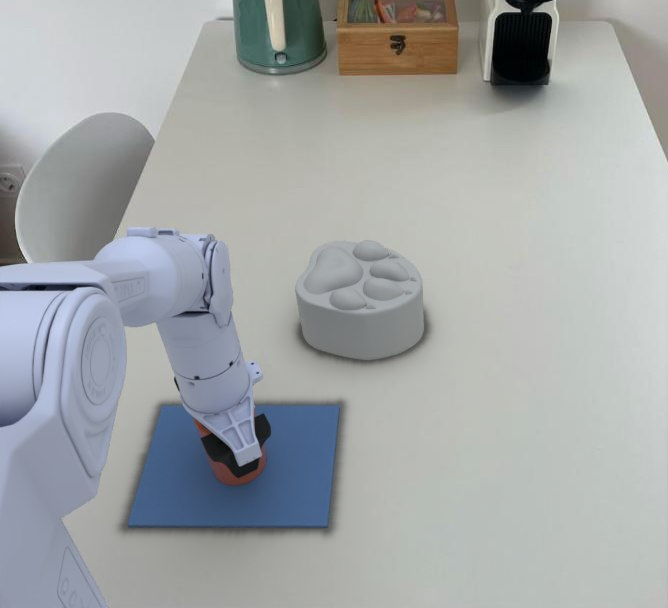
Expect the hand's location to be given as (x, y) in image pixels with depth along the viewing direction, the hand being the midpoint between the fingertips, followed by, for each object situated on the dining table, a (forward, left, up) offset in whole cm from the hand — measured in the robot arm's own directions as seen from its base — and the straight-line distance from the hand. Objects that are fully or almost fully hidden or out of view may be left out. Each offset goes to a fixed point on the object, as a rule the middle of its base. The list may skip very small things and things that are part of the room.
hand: (234, 446), depth 75 cm
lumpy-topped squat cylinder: (+21, -1, -3) cm, 21 cm away
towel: (0, 0, -3) cm, 3 cm away
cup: (0, 0, -2) cm, 2 cm away
